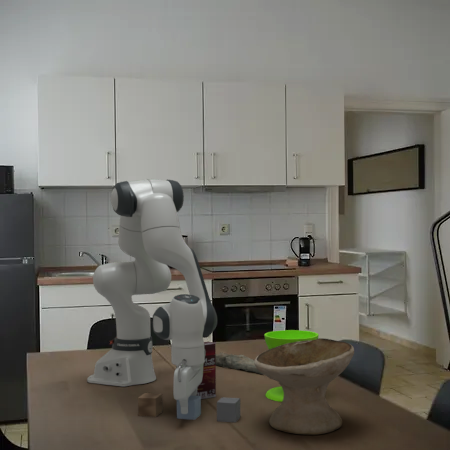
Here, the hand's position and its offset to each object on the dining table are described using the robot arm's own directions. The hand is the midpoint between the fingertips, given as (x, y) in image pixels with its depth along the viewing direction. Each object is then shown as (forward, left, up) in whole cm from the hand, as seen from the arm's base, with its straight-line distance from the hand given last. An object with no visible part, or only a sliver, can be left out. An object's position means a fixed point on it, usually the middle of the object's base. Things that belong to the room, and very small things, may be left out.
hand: (188, 408), depth 178 cm
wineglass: (+23, +27, -2) cm, 36 cm away
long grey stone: (+1, +60, -3) cm, 60 cm away
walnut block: (-11, 0, -2) cm, 11 cm away
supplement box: (-3, +19, -2) cm, 19 cm away
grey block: (+11, 0, -2) cm, 11 cm away
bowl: (+31, 0, -2) cm, 31 cm away
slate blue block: (0, 0, -2) cm, 2 cm away
